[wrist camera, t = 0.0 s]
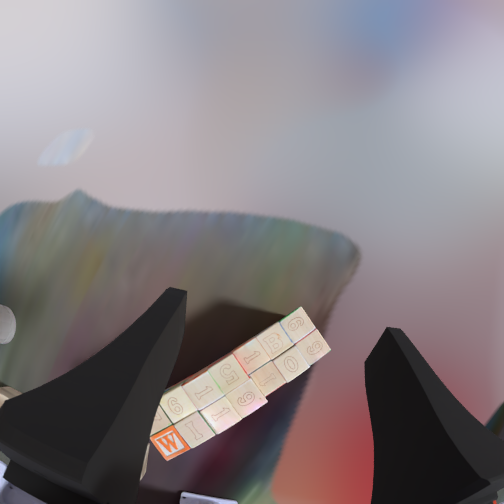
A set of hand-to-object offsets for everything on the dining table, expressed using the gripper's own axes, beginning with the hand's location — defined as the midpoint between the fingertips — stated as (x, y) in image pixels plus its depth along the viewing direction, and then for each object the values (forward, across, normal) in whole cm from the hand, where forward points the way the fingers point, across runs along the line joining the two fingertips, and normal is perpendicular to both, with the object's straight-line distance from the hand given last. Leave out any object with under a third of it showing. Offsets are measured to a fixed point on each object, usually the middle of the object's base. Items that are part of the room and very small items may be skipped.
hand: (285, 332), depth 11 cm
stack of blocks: (+18, 0, +28) cm, 33 cm away
